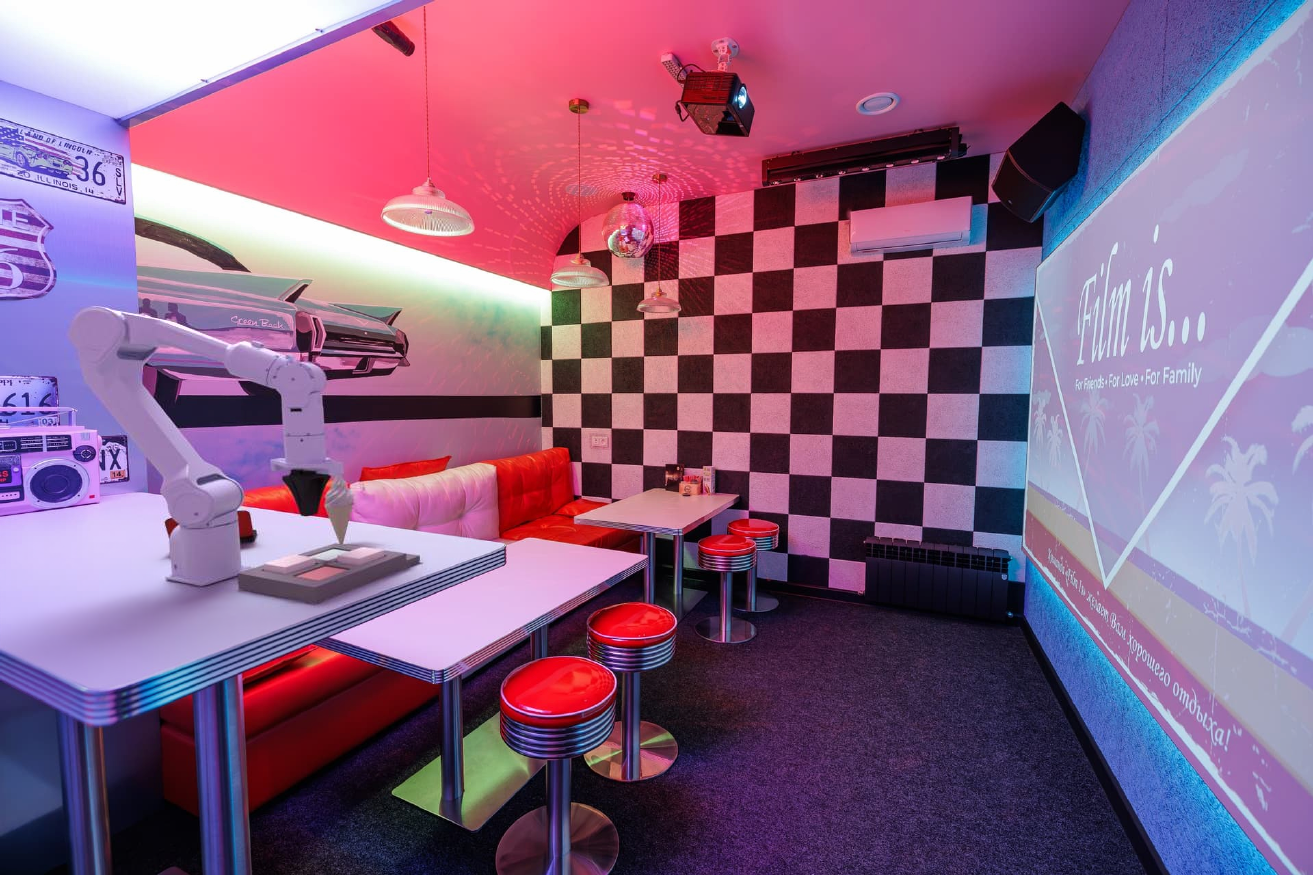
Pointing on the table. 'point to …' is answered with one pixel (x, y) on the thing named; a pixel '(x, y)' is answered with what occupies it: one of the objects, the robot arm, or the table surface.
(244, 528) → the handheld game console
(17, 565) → the table surface
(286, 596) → the keypad frame
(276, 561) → the ivory key
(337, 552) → the mint key
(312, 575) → the coral key
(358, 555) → the ivory key
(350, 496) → the ice cream cone
